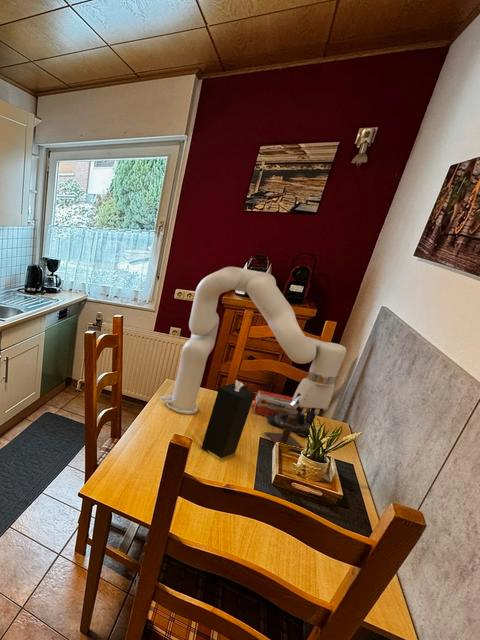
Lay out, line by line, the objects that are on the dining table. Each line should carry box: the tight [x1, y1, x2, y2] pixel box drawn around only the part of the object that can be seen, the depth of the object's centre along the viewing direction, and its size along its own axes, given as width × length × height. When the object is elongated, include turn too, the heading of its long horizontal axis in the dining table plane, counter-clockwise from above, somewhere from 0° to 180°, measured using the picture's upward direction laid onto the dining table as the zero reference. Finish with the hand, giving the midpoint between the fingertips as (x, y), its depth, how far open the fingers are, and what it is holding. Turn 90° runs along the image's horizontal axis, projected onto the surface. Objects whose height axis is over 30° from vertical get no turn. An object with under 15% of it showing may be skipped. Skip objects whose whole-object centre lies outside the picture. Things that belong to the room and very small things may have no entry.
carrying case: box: [267, 413, 309, 438], centre depth 155 cm, size 11×3×15 cm
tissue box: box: [201, 379, 256, 459], centre depth 133 cm, size 8×8×28 cm
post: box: [263, 415, 305, 449], centre depth 144 cm, size 9×9×12 cm
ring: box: [275, 413, 310, 431], centre depth 142 cm, size 10×10×2 cm
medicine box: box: [253, 389, 299, 418], centre depth 164 cm, size 15×8×8 cm, turn 60°
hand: (303, 422), depth 142 cm, fingers closed
